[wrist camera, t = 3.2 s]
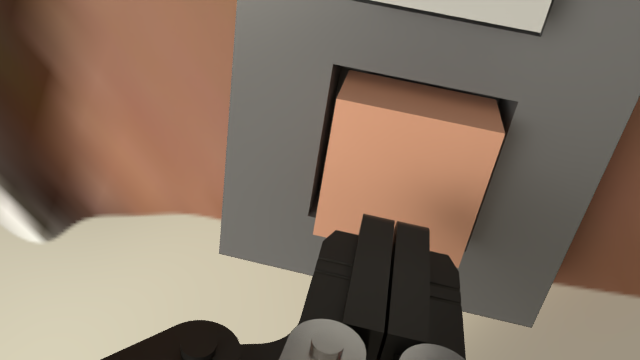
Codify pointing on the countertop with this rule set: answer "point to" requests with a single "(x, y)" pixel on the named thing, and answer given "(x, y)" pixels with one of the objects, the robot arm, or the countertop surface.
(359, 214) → the terracotta key
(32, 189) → the countertop surface
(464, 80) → the keypad
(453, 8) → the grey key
